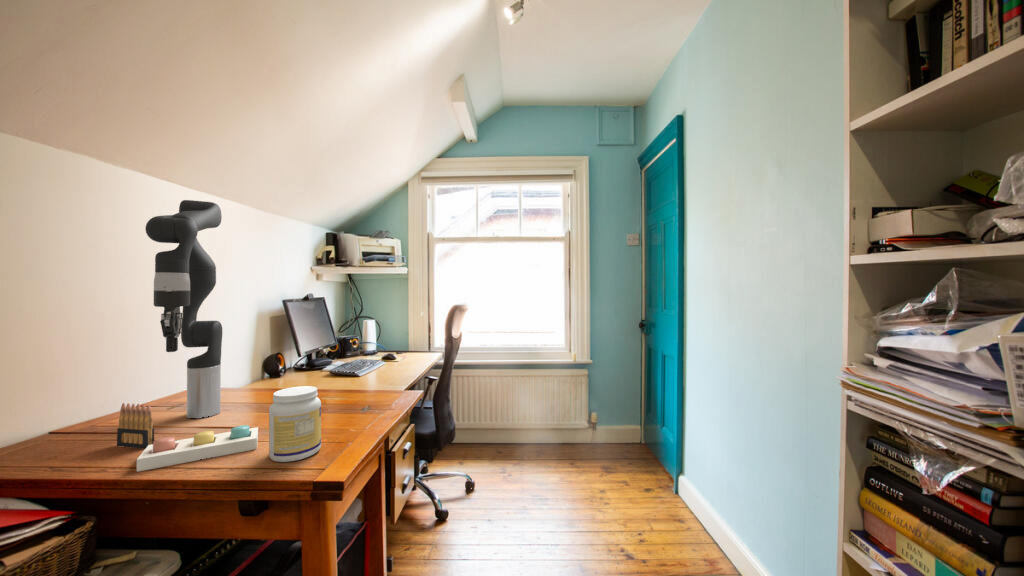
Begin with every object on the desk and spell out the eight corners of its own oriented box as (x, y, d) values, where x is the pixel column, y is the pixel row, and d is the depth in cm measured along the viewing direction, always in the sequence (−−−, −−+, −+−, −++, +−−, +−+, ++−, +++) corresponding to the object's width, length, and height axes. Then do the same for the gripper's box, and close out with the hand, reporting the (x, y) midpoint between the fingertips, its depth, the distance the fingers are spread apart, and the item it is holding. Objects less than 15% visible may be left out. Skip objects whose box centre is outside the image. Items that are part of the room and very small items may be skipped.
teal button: (231, 441, 106) (231, 427, 106) (249, 438, 108) (249, 424, 108) (230, 447, 102) (230, 431, 102) (248, 443, 104) (249, 428, 104)
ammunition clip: (116, 446, 105) (116, 403, 105) (124, 443, 107) (124, 401, 107) (147, 449, 103) (147, 405, 103) (154, 446, 105) (154, 403, 105)
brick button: (155, 455, 97) (155, 439, 97) (176, 451, 99) (176, 435, 99) (150, 461, 93) (150, 444, 93) (172, 457, 96) (173, 441, 96)
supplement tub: (330, 450, 102) (330, 388, 102) (284, 468, 92) (285, 399, 92) (305, 440, 108) (305, 383, 109) (259, 457, 98) (259, 392, 98)
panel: (148, 456, 98) (148, 445, 98) (258, 437, 111) (258, 427, 111) (136, 471, 90) (136, 459, 90) (256, 449, 103) (256, 438, 103)
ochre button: (195, 448, 101) (195, 432, 101) (214, 444, 104) (214, 429, 104) (192, 454, 98) (192, 438, 98) (212, 450, 100) (212, 434, 100)
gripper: (160, 289, 107) (159, 349, 107) (147, 289, 96) (146, 356, 96) (194, 289, 111) (193, 347, 111) (185, 289, 100) (184, 353, 100)
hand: (171, 351), depth 103 cm, fingers closed
